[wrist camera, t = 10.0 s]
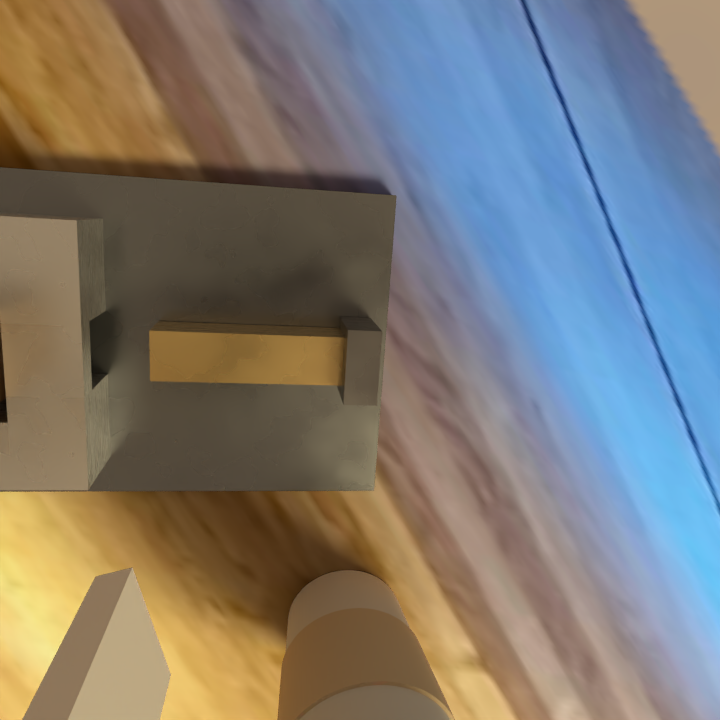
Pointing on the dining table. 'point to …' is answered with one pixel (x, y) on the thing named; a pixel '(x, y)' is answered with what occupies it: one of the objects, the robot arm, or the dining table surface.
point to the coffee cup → (354, 656)
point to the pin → (271, 355)
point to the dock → (178, 304)
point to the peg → (2, 372)
